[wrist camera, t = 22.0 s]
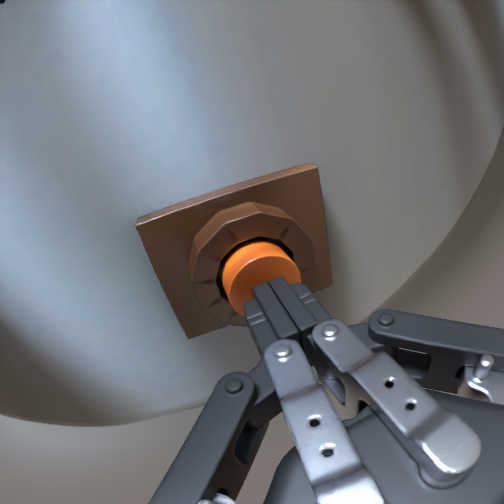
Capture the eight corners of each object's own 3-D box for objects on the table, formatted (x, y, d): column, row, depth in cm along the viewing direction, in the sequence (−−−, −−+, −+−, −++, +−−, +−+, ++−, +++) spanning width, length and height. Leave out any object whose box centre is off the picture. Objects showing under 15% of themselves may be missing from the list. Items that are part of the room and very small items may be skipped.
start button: (281, 230, 15) (295, 244, 13) (292, 287, 17) (305, 304, 15) (212, 254, 14) (218, 271, 13) (231, 310, 16) (239, 330, 14)
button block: (308, 162, 16) (335, 173, 14) (324, 276, 20) (346, 299, 18) (136, 218, 15) (131, 239, 12) (185, 327, 19) (191, 359, 16)
